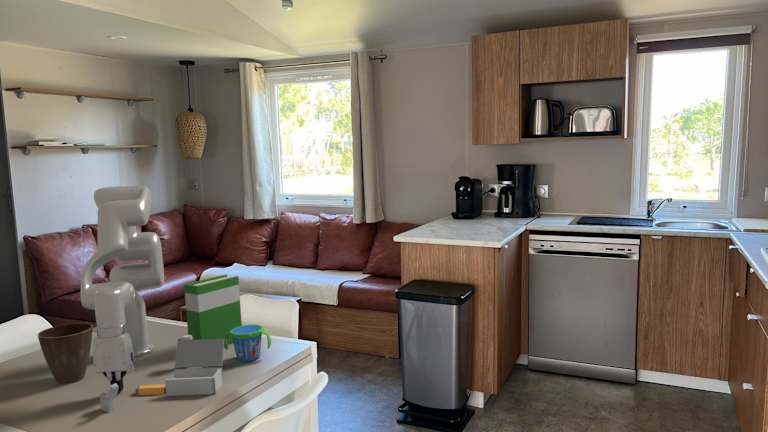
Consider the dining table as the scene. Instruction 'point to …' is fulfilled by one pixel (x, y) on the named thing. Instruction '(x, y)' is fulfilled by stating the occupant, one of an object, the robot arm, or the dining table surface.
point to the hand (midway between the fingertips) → (117, 392)
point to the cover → (199, 353)
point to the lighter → (109, 398)
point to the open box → (194, 381)
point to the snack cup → (247, 341)
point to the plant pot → (67, 350)
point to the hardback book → (213, 307)
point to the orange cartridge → (151, 389)
